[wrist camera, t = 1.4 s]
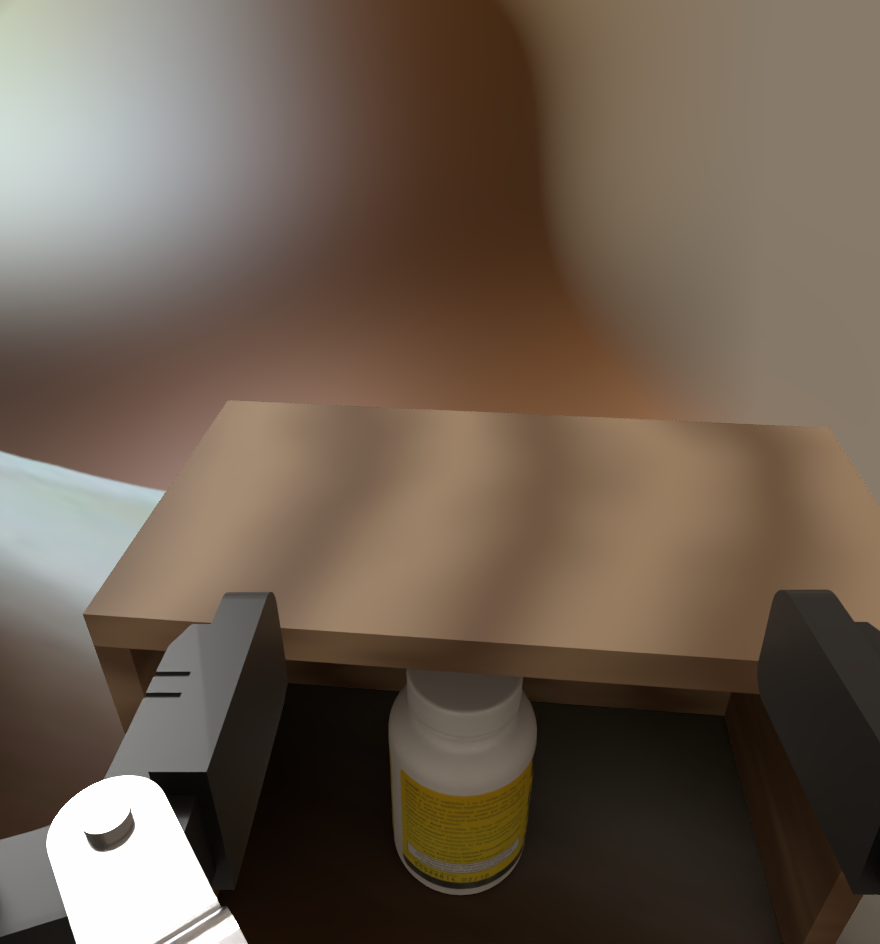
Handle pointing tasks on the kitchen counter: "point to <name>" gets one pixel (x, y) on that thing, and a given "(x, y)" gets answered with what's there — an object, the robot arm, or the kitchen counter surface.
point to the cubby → (519, 572)
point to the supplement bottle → (461, 777)
